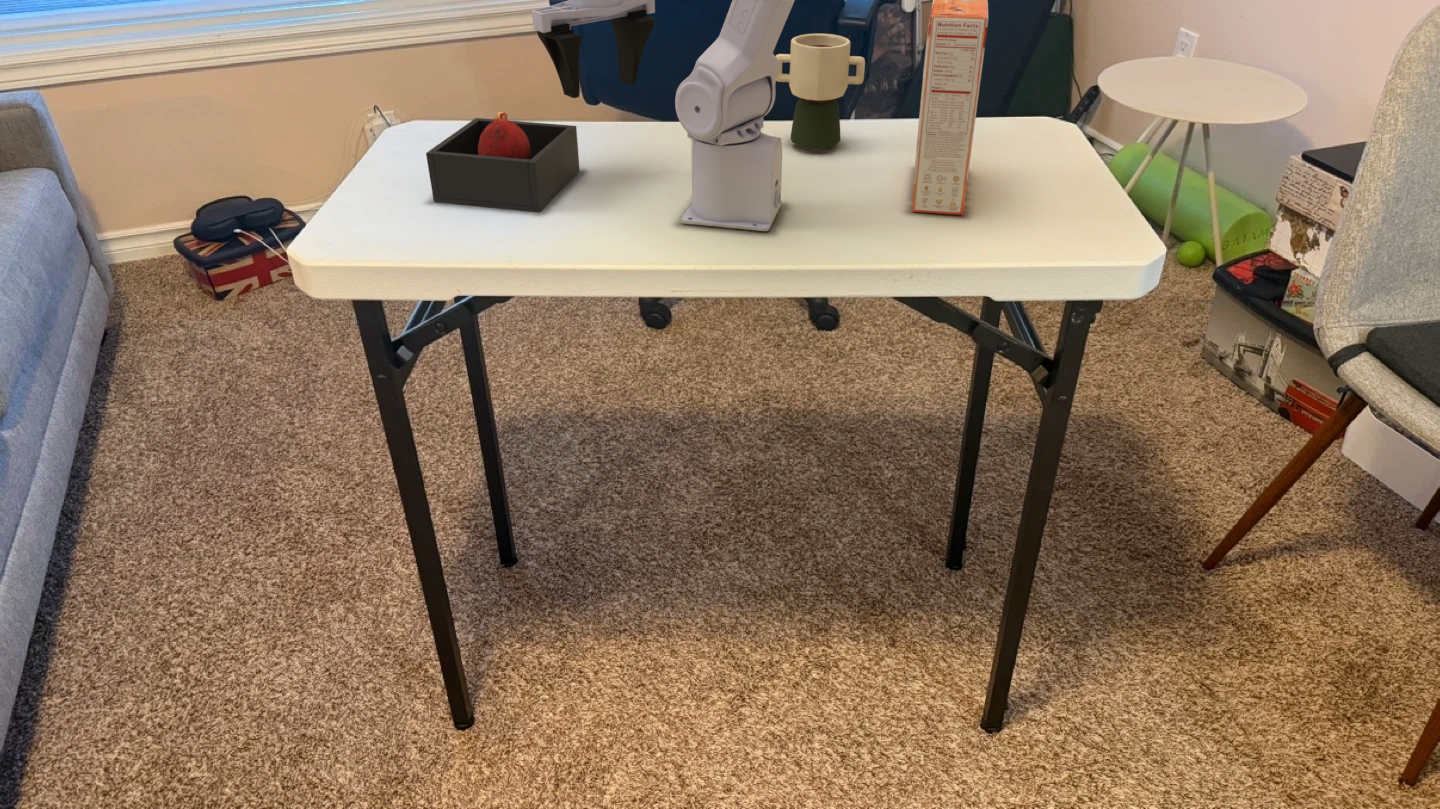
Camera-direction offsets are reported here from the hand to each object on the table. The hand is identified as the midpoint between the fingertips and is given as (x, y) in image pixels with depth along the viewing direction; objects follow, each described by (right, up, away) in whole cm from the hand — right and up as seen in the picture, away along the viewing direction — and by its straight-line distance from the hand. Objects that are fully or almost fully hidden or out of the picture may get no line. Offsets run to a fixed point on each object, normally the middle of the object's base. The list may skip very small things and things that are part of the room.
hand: (600, 89), depth 113 cm
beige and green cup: (+25, -3, +15) cm, 30 cm away
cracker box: (+38, -11, +3) cm, 40 cm away
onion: (-11, -10, +3) cm, 15 cm away
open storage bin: (-11, -10, +4) cm, 15 cm away
